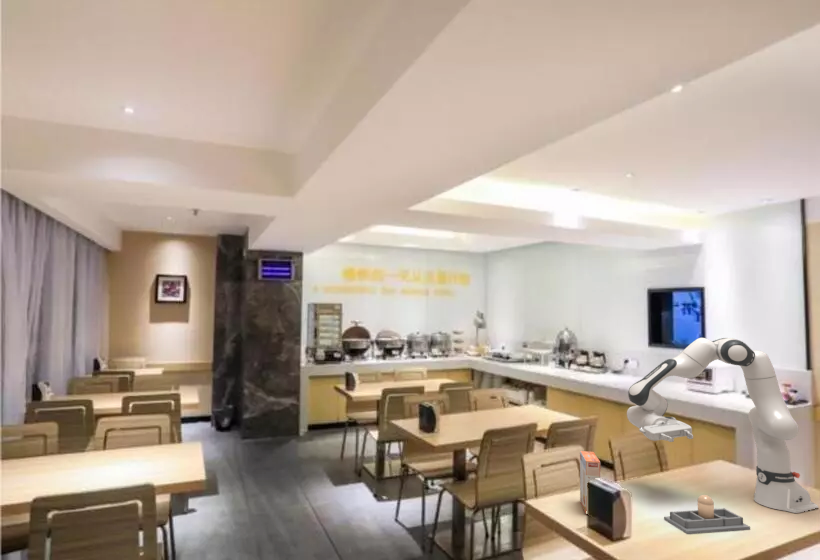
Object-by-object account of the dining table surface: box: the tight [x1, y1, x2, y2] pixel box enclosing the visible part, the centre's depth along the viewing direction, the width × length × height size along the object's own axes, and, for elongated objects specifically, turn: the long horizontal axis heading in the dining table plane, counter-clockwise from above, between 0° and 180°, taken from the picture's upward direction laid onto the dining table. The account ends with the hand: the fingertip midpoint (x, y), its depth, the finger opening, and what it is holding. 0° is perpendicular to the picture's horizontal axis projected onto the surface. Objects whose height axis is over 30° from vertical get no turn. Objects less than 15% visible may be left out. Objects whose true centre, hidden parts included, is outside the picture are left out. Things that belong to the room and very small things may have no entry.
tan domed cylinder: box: [697, 494, 715, 519], centre depth 177 cm, size 5×5×10 cm
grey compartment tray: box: [663, 508, 751, 535], centre depth 177 cm, size 26×12×4 cm, turn 99°
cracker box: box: [579, 450, 601, 513], centre depth 191 cm, size 14×6×21 cm, turn 168°
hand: (682, 438), depth 193 cm, fingers open, 8 cm apart
